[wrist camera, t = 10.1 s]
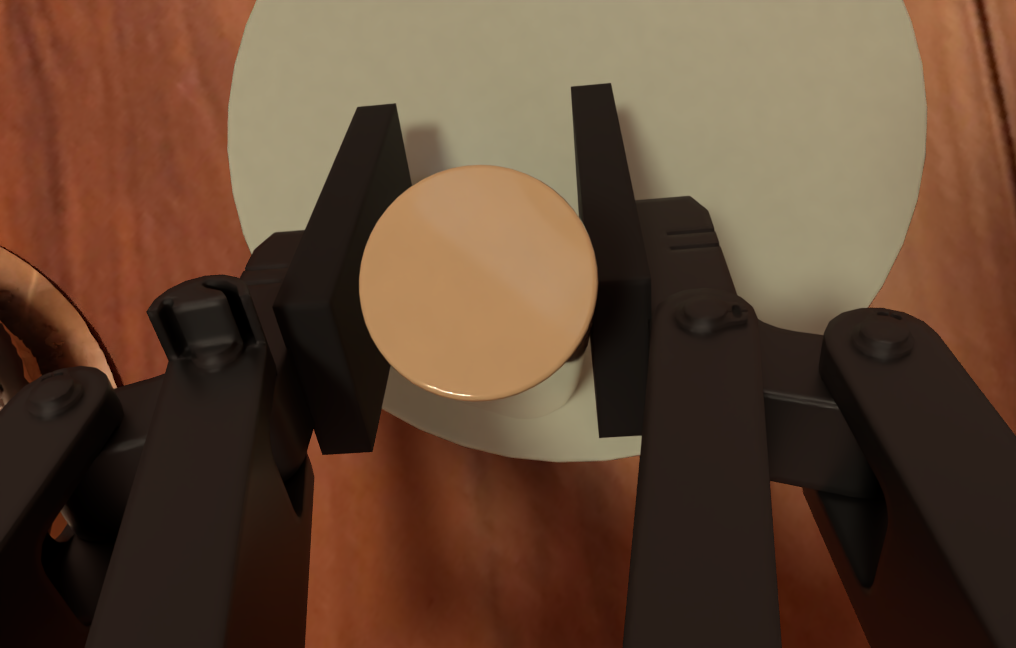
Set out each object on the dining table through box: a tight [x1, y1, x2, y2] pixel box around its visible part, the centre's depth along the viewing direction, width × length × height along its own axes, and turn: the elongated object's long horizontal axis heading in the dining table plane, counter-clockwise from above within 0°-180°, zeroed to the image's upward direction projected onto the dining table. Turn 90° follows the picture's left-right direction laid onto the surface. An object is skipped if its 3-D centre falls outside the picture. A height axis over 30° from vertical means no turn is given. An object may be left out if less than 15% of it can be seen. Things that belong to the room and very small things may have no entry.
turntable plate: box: [228, 0, 927, 463], centre depth 14 cm, size 15×15×10 cm
